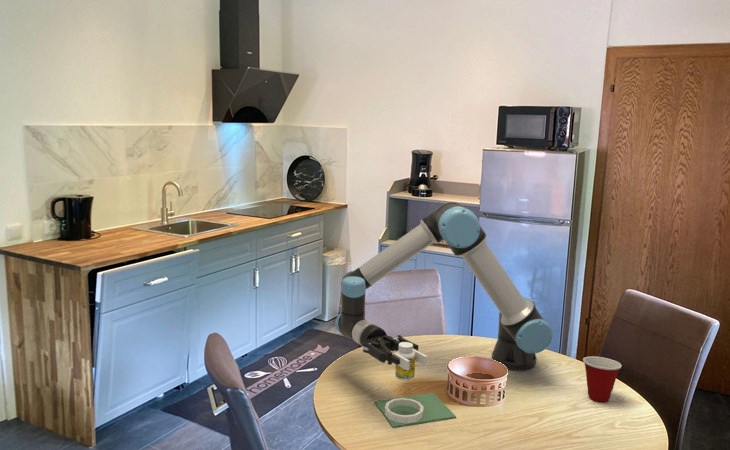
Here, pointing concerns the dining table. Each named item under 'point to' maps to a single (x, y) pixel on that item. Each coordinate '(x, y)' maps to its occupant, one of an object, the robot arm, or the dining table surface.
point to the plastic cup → (600, 377)
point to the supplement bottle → (407, 353)
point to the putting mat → (431, 411)
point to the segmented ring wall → (404, 418)
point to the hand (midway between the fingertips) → (417, 363)
